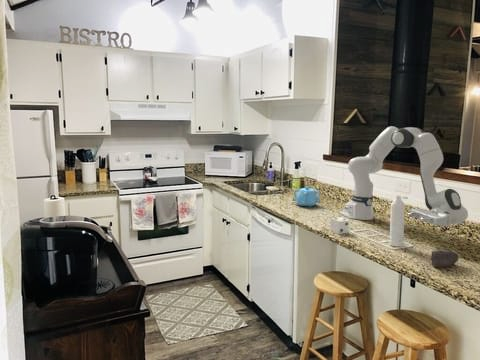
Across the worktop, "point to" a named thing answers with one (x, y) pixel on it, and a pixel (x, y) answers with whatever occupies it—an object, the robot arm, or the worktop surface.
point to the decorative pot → (306, 197)
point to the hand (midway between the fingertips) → (415, 217)
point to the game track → (380, 241)
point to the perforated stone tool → (443, 258)
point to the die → (339, 225)
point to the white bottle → (397, 221)
